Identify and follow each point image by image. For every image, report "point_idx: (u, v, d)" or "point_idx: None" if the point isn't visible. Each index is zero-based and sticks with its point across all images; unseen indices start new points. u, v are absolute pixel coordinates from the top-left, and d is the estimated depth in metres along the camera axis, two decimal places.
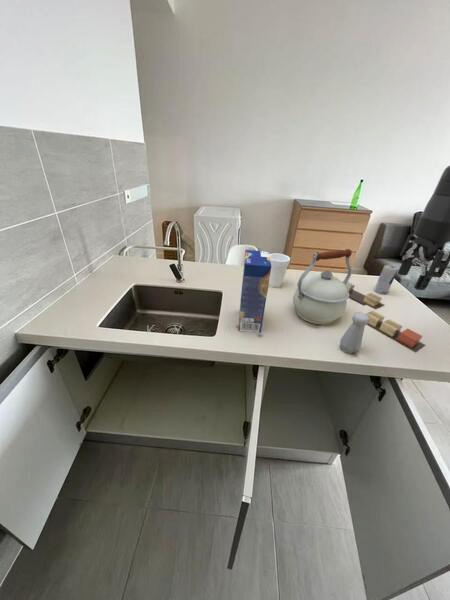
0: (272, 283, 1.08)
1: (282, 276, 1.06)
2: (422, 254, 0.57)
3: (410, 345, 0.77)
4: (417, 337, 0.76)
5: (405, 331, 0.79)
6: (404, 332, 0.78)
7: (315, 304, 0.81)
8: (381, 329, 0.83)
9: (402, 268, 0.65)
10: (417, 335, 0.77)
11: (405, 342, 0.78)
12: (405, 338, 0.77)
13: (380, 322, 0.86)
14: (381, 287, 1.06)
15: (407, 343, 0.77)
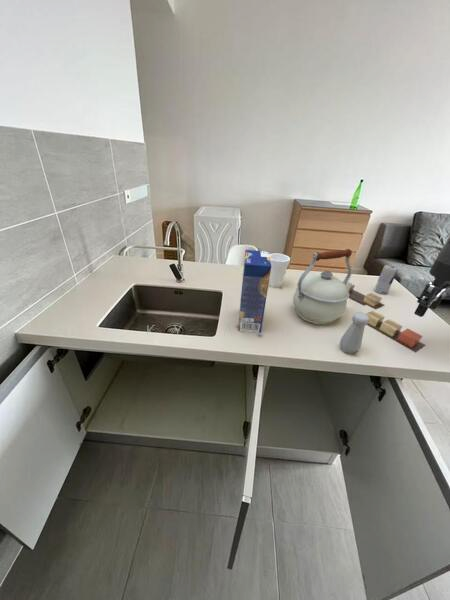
0: (272, 283, 1.08)
1: (282, 276, 1.06)
2: None
3: (410, 345, 0.77)
4: (417, 337, 0.76)
5: (405, 331, 0.79)
6: (404, 332, 0.78)
7: (315, 304, 0.81)
8: (381, 329, 0.83)
9: None
10: (417, 335, 0.77)
11: (405, 342, 0.78)
12: (405, 338, 0.77)
13: (380, 322, 0.86)
14: (381, 287, 1.06)
15: (407, 343, 0.77)
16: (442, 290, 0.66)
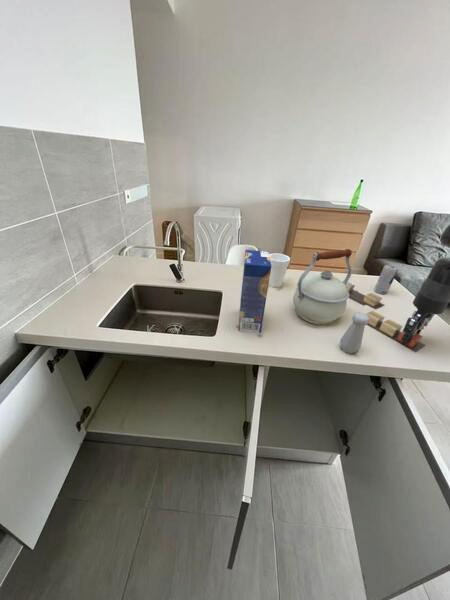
0: (272, 283, 1.08)
1: (282, 276, 1.06)
2: (411, 317, 0.74)
3: (410, 345, 0.77)
4: (417, 337, 0.76)
5: None
6: (404, 332, 0.78)
7: (315, 304, 0.81)
8: (381, 329, 0.83)
9: None
10: (417, 335, 0.77)
11: None
12: None
13: (380, 322, 0.86)
14: (381, 287, 1.06)
15: None
16: (424, 321, 0.72)
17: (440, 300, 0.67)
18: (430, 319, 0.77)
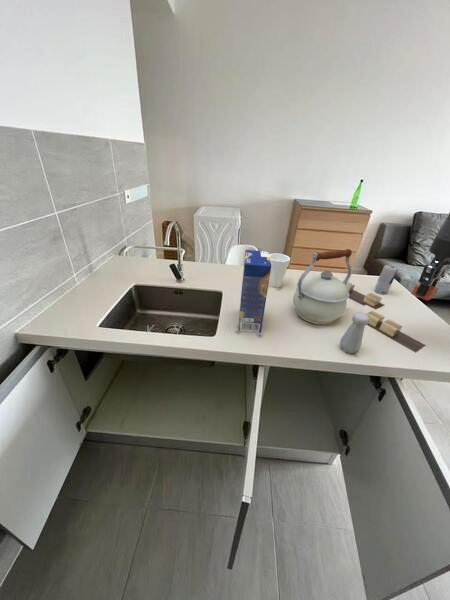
0: (272, 283, 1.08)
1: (282, 276, 1.06)
2: None
3: (426, 298, 0.71)
4: (433, 289, 0.71)
5: None
6: (419, 285, 0.73)
7: (315, 304, 0.81)
8: (381, 329, 0.83)
9: None
10: (433, 287, 0.72)
11: None
12: None
13: (380, 322, 0.86)
14: (381, 287, 1.06)
15: None
16: (442, 268, 0.66)
17: None
18: (447, 270, 0.71)
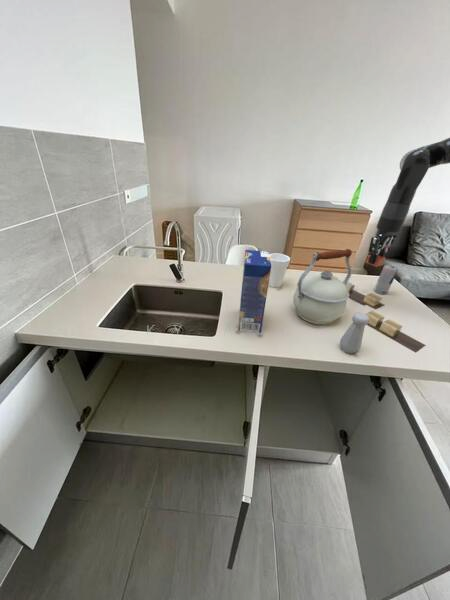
0: (272, 283, 1.08)
1: (282, 276, 1.06)
2: None
3: (375, 265, 0.91)
4: (381, 258, 0.91)
5: None
6: None
7: (315, 304, 0.81)
8: (381, 329, 0.83)
9: (377, 255, 0.94)
10: (381, 257, 0.92)
11: None
12: None
13: (380, 322, 0.86)
14: (381, 287, 1.06)
15: (373, 264, 0.92)
16: (385, 240, 0.86)
17: (396, 218, 0.81)
18: (392, 243, 0.91)
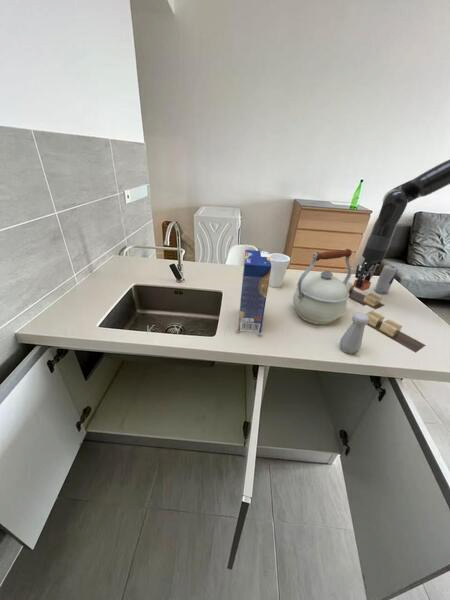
0: (272, 283, 1.08)
1: (282, 276, 1.06)
2: None
3: (361, 289, 0.99)
4: (367, 282, 0.99)
5: None
6: None
7: (315, 304, 0.81)
8: (381, 329, 0.83)
9: None
10: (367, 281, 1.00)
11: None
12: None
13: (380, 322, 0.86)
14: (381, 287, 1.06)
15: (359, 288, 1.00)
16: (370, 268, 0.94)
17: (379, 249, 0.89)
18: (377, 269, 0.99)
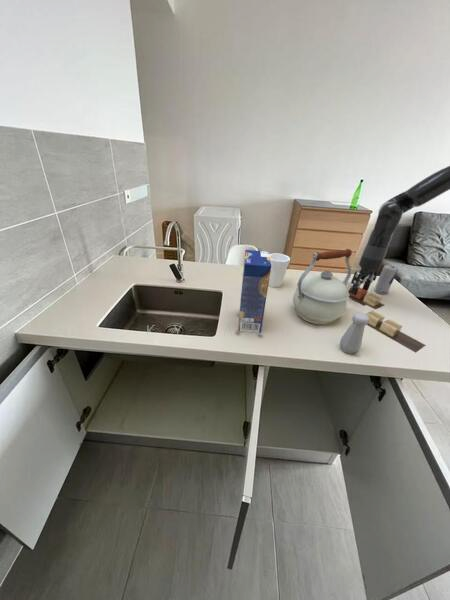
0: (272, 283, 1.08)
1: (282, 276, 1.06)
2: None
3: (358, 298, 1.01)
4: (363, 291, 1.01)
5: None
6: None
7: (315, 304, 0.81)
8: (381, 329, 0.83)
9: (364, 285, 1.04)
10: (364, 290, 1.02)
11: (355, 295, 1.02)
12: None
13: (380, 322, 0.86)
14: (381, 287, 1.06)
15: (356, 296, 1.02)
16: (366, 276, 0.96)
17: (375, 259, 0.91)
18: (376, 275, 1.01)
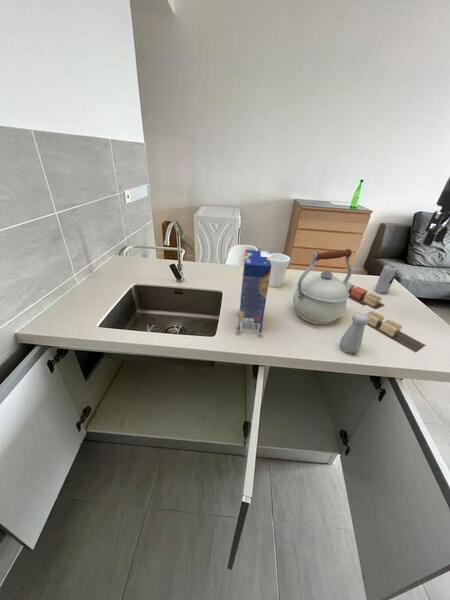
0: (272, 283, 1.08)
1: (282, 276, 1.06)
2: None
3: (358, 298, 1.01)
4: (363, 291, 1.01)
5: (355, 288, 1.03)
6: (354, 288, 1.03)
7: (315, 304, 0.81)
8: (381, 329, 0.83)
9: (437, 235, 0.82)
10: (364, 290, 1.02)
11: (355, 295, 1.02)
12: (354, 293, 1.02)
13: (380, 322, 0.86)
14: (381, 287, 1.06)
15: (356, 296, 1.02)
16: (448, 218, 0.74)
17: None
18: None
